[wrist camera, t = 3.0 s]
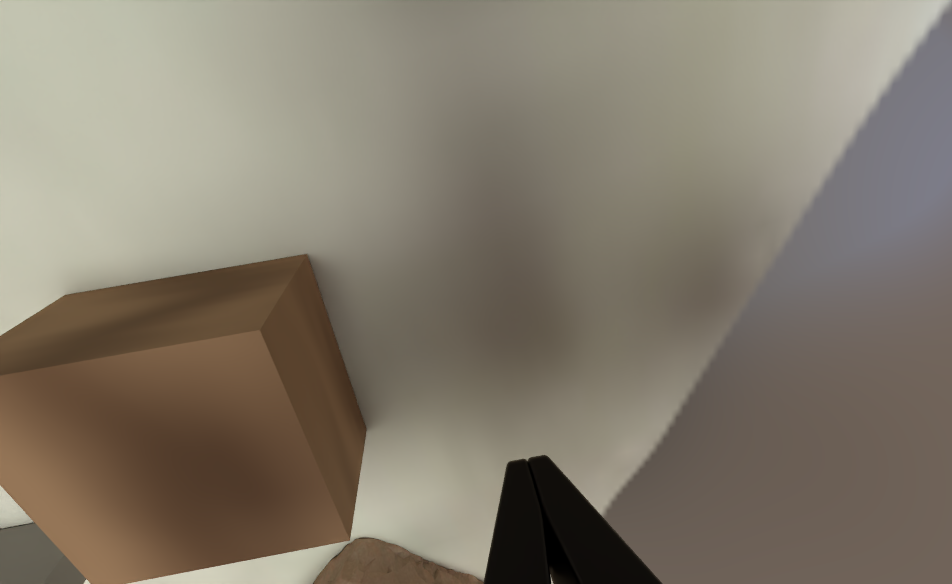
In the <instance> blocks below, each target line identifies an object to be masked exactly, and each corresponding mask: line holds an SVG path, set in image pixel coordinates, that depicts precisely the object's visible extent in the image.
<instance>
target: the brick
mask: <svg viewBox="0 0 952 584" xmlns="http://www.w3.org/2000/svg"><path fill="white" fill-rule="evenodd" d="M483 583H484V582H483V581H480V580H477V578H476V577H475V576H473V575H470V574H464V573H461V572H455V571H453V570H452V569H445V568H444V567H441V566H439V565H437V564H435V563H433V562H429V561H427V560H423V559H422V557H420V556H417V555H415V554H412V553H410V552H409V551H407V550H406V549H404V548H402V547H400V546H397V545H394V544H390V543H386V542H384V541H381V540H378V539H373V538H361V539H355V540H354V541H353V542H352V543H350V544H348V545H347V546H346V547H345V548H344V550H343V551H342V552H341V553H340V554H339V555H338V556H336V557H335V558H333V559H332V560H331V561H330V562H329V563H328V565H327V566H326V567H325V568H324V569H323V571H322V572H321V573H320V574H319V576H318V577H317V578H316V580H315V581H314V583H313V584H483Z"/></svg>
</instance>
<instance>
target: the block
mask: <svg viewBox="0 0 952 584" xmlns="http://www.w3.org/2000/svg"><path fill="white" fill-rule="evenodd" d="M366 431H367V430H366V427H365V424H364V421H363V418H362V415H361V412H360V409H359V406H358V403H357V400H356V397H355V394H354V391H353V388H352V385H351V382H350V379H349V377H348V374H347V371H346V368H345V365H344V362H343V359H342V356H341V353H340V350H339V347H338V344H337V341H336V338H335V335H334V332H333V329H332V326H331V323H330V320H329V318H328V315H327V312H326V309H325V306H324V303H323V300H322V297H321V294H320V291H319V288H318V285H317V282H316V279H315V276H314V273H313V270H312V267H311V264H310V261H309V259H308V256H307V254H304V255H298V256H292V257H286V258H280V259H275V260H269V261H263V262H257V263H251V264H245V265H239V266H233V267H227V268H222V269H216V270H210V271H204V272H198V273H192V274H186V275H180V276H174V277H169V278H163V279H157V280H151V281H145V282H139V283H133V284H127V285H121V286H115V287H110V288H104V289H98V290H92V291H86V292H80V293H74V294H68V295H64V296H63V297H61V298H60V299H58V300H56V301H55V302H53V303H52V304H50V305H49V306H47V307H45V308H44V309H42V310H41V311H39V312H37V313H36V314H34V315H33V316H31V317H30V318H28V319H26V320H25V321H23V322H22V323H20V324H19V325H17V326H15V327H14V328H12V329H11V330H9V331H7V332H6V333H4V334H3V335H1V336H0V485H1V486H2V487H3V489H4V490H5V491H6V492H7V493H8V494H9V495H10V496H11V497H12V498H13V499H14V501H15V502H16V503H17V504H18V505H19V506H20V507H21V508H22V509H23V510H24V511H25V513H26V514H27V515H28V516H29V517H30V518H31V519H32V520H33V521H34V522H35V523H36V524H37V526H38V527H39V528H40V529H41V530H42V531H43V532H44V533H45V534H46V535H47V536H48V538H49V539H50V540H51V541H52V542H53V543H54V544H55V545H56V546H57V547H58V548H59V550H60V551H61V552H62V553H63V554H64V555H65V556H66V557H67V558H68V559H69V560H70V562H71V563H72V564H73V565H74V566H75V567H76V568H77V569H78V570H79V571H80V572H81V574H82V575H83V576H84V577H85V578H86V579H87V580H88V581H89V582H90V583H91V584H127V583H132V582H137V581H142V580H147V579H153V578H158V577H163V576H168V575H173V574H178V573H184V572H189V571H194V570H199V569H204V568H209V567H215V566H220V565H225V564H230V563H235V562H241V561H246V560H251V559H256V558H261V557H266V556H272V555H277V554H282V553H287V552H292V551H297V550H303V549H308V548H313V547H318V546H323V545H329V544H334V543H339V542H344V541H349V540H350V536H351V530H352V523H353V516H354V510H355V503H356V497H357V490H358V484H359V477H360V470H361V464H362V457H363V451H364V444H365V437H366Z"/></svg>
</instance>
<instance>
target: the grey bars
mask: <svg viewBox="0 0 952 584" xmlns="http://www.w3.org/2000/svg"><path fill="white" fill-rule="evenodd" d="M85 580H86V578H85V577H84V576H83V575H82V574H81V572H80V571H79V570H78V569H77V568H76V567H75V566H74V565H73V564H72V563H71V562H70V560H69V559H68V558H67V557H66V556H65V555H64V554H63V553H62V552H61V551H60V550H59V548H58V547H57V546H56V545H55V544H54V543H53V542H52V541H51V540H50V539H49V538H48V536H47V535H46V534H45V533H44V532H43V531H42V530H41V529H40V528H39V527H38V526H37V524H36V523H33V524H28V525H23V526H17V527H12V528H6V529H1V530H0V584H83V583H84V582H85Z"/></svg>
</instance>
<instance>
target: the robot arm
mask: <svg viewBox="0 0 952 584" xmlns="http://www.w3.org/2000/svg"><path fill="white" fill-rule="evenodd" d="M550 574H551V577H552V581H553V584H662V583H661V582H660V580H659V579H658V578H657V577H656V576H655V575H654V574H653V573H652V572H651V570H650V569H649V568H648V567H647V566H646V565H645V564H644V563H643V562H642V560H641V559H640V558H639V557H638V556H637V555H636V554H635V553H634V552H633V550H632V549H631V548H630V547H629V546H628V545H627V544H626V543H625V541H624V540H623V539H622V538H621V537H620V536H619V535H618V534H617V533H616V531H615V530H614V529H613V528H612V527H611V526H610V525H609V524H608V523H607V521H606V520H605V519H604V518H603V517H602V516H601V515H600V514H599V513H598V511H597V510H596V509H595V508H594V507H593V506H592V505H591V504H590V503H589V501H588V500H587V499H586V498H585V497H584V496H583V495H582V494H581V492H580V491H579V490H578V489H577V488H576V487H575V486H574V485H573V484H572V482H571V481H570V480H569V479H568V478H567V477H566V476H565V475H564V474H563V472H562V471H561V470H560V469H559V468H558V467H557V466H556V465H555V464H554V462H553V461H552V460H551V459H550V458H549V457H548V456H546V455H541V456H536V457H531V458H529V459H528V462H527V460H526V459H520V460H514V461H510V462H508V464H507V467H506V472H505V477H504V482H503V487H502V492H501V497H500V502H499V507H498V512H497V517H496V522H495V528H494V533H493V538H492V543H491V548H490V553H489V558H488V563H487V568H486V573H485V578H484V583H483V584H551V577H550Z"/></svg>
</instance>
